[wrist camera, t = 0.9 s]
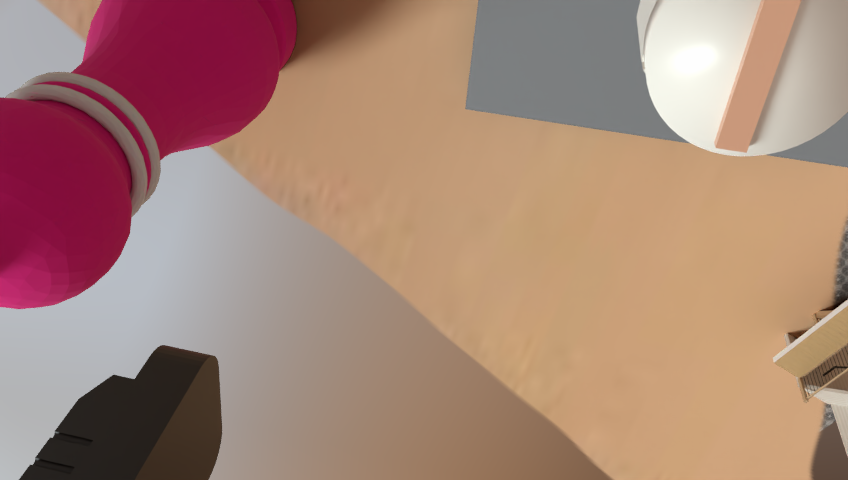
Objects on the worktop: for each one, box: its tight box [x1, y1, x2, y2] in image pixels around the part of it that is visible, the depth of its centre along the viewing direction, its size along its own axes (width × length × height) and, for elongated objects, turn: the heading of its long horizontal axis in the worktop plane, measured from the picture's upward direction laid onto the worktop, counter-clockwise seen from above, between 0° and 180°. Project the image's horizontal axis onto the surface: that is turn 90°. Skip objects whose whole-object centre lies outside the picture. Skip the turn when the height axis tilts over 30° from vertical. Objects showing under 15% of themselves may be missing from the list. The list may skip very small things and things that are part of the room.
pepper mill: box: [0, 0, 297, 309], centre depth 27 cm, size 7×7×20 cm
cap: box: [636, 0, 848, 156], centre depth 21 cm, size 5×5×5 cm
